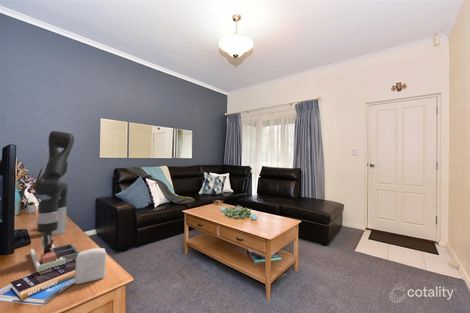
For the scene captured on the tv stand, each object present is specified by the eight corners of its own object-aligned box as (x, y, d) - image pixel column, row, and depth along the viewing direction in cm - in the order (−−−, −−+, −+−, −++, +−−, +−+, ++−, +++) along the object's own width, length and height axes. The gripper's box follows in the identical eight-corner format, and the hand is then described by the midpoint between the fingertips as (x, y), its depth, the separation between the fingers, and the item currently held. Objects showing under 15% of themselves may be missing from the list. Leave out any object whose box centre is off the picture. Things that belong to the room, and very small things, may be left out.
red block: (40, 263, 98) (41, 254, 98) (53, 259, 101) (53, 251, 101) (43, 267, 94) (43, 258, 94) (55, 263, 98) (56, 255, 98)
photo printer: (105, 273, 90) (106, 245, 90) (105, 278, 86) (106, 248, 87) (75, 280, 84) (76, 250, 84) (74, 286, 80) (75, 254, 81)
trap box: (30, 254, 107) (30, 246, 107) (69, 245, 119) (69, 238, 119) (38, 275, 87) (38, 266, 87) (83, 262, 99) (84, 253, 99)
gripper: (60, 222, 100) (59, 258, 99) (55, 217, 109) (54, 250, 108) (39, 225, 94) (37, 263, 94) (35, 219, 103) (34, 255, 102)
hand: (46, 256), depth 101 cm, fingers closed
